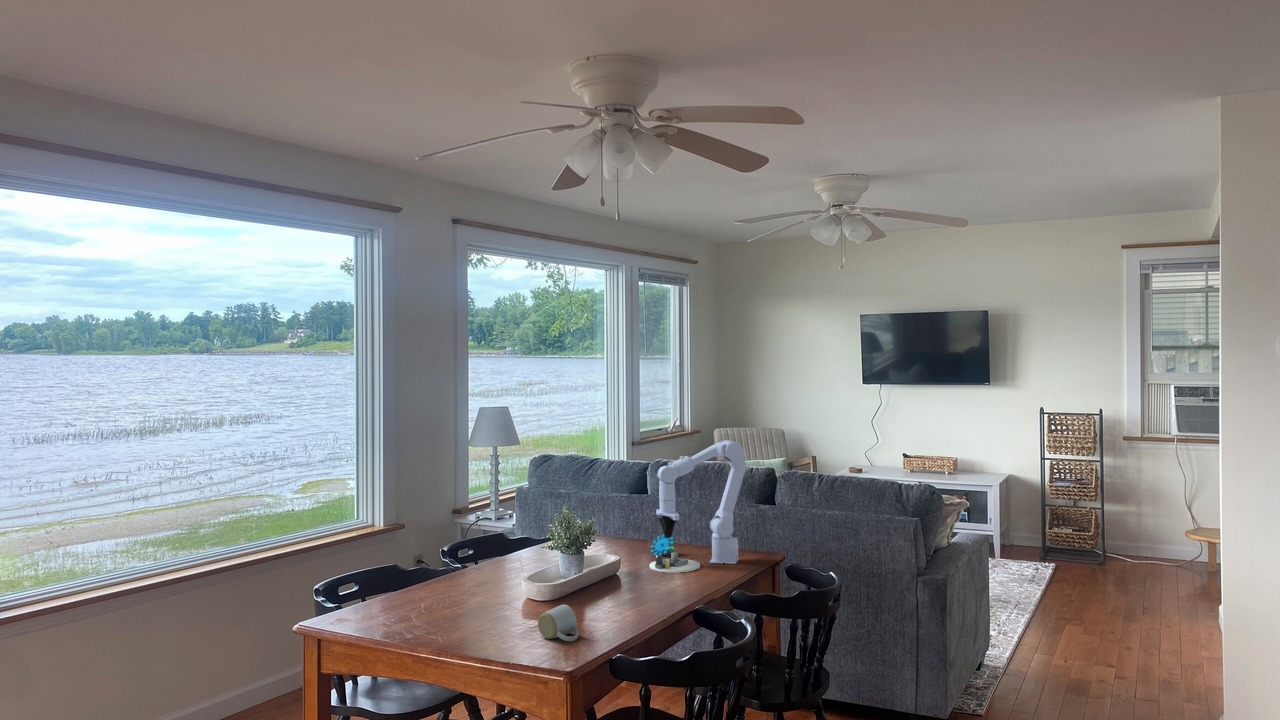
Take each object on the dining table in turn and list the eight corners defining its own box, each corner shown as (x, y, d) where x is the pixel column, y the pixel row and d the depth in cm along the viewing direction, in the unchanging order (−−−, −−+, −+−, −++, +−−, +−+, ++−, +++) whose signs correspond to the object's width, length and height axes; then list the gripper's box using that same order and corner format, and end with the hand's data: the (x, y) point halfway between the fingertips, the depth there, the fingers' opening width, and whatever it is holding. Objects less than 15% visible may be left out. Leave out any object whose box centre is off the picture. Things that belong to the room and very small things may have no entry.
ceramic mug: (535, 637, 232) (535, 608, 232) (557, 629, 238) (557, 601, 238) (564, 645, 225) (564, 616, 225) (586, 637, 232) (585, 608, 232)
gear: (644, 550, 332) (660, 529, 336) (652, 559, 335) (667, 538, 339) (664, 558, 323) (679, 537, 327) (671, 567, 327) (686, 546, 330)
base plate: (704, 562, 316) (704, 548, 316) (694, 574, 299) (694, 559, 299) (656, 560, 321) (656, 547, 321) (643, 572, 304) (643, 557, 304)
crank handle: (674, 560, 315) (673, 548, 315) (688, 563, 310) (688, 551, 310) (649, 566, 306) (649, 554, 306) (664, 569, 301) (663, 557, 301)
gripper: (648, 498, 319) (649, 535, 319) (666, 503, 306) (667, 542, 305) (665, 496, 322) (666, 533, 322) (684, 501, 309) (684, 540, 308)
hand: (668, 537), depth 314 cm, fingers closed
